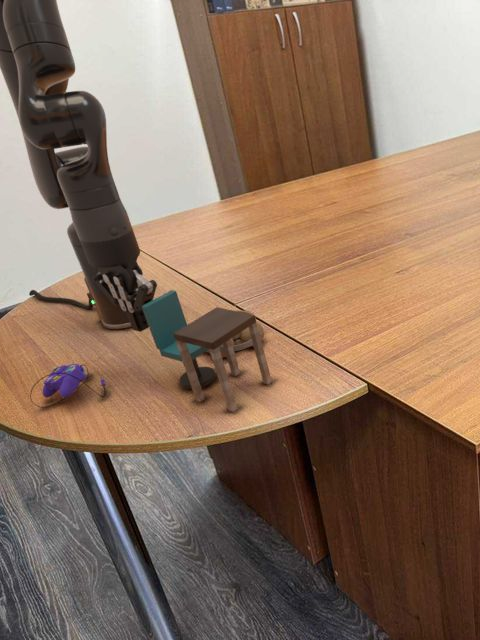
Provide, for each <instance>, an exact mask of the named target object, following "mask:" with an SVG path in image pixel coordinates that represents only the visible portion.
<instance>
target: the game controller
mask: <svg viewBox="0 0 480 640" xmlns="http://www.w3.org/2000/svg"><path fill="white" fill-rule="evenodd" d="M84 367H85V368H84ZM50 370H51V372H50V374H48V375H45V376H43V377H42V378H40V379H39V380H37V381H36V383H35V384H34V385H33V386H32V388H31V390H30V401H31V403H32V404H33V405H34V406H36V407H38V408H43V409H45V408H49V407H52V406H55V405H57V404H59V403H60V402H62V401H64V400H65V399H66V398H69V397H71V396H72V395H73V394H74V393H75V392H76V391H77V390H78V389H79V388H80V387H82V386H83V385H85V386H86V387H88V388H89V389H90V390H92V392H94V393H95V394H96V395H97V396H99V397H101V398H104V397H105V396H106V387H105V386H106V382H105V378H104V377H103V376H101V377H100V383H101V387H103V392H104V395H100V394H99V393H98V392H97V391H95V390H94V389H93V388H92V387H90V386H89V385H88V384H87V383H86V382H87V381H88V379H89V369H88V367H87V366H86V365H85V364H80V365H79V364H78V363H71V364H67V365H66V364H64V365H63V364H62V365H60V366H59V367H58V365H54V366H52V367H51V369H50ZM46 377H47V378H46ZM44 378H46V379H45V380H44V381H43V384H44V385H43V387H42V396H43V397H44V398H50V397H52V396H54V395H55V394H56V393H57V392H58V391H59V395H60V397H61V398H62V399H61V400H58V401H57V402H55V403H53V404H51V405H48V406H40V405H37V404H36V403H35V402H34V401H33V399H32V392H33V389H34V388H35V387H36V385H37V384H38V383H39V382H40V381H41V380H43V379H44Z"/></svg>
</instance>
